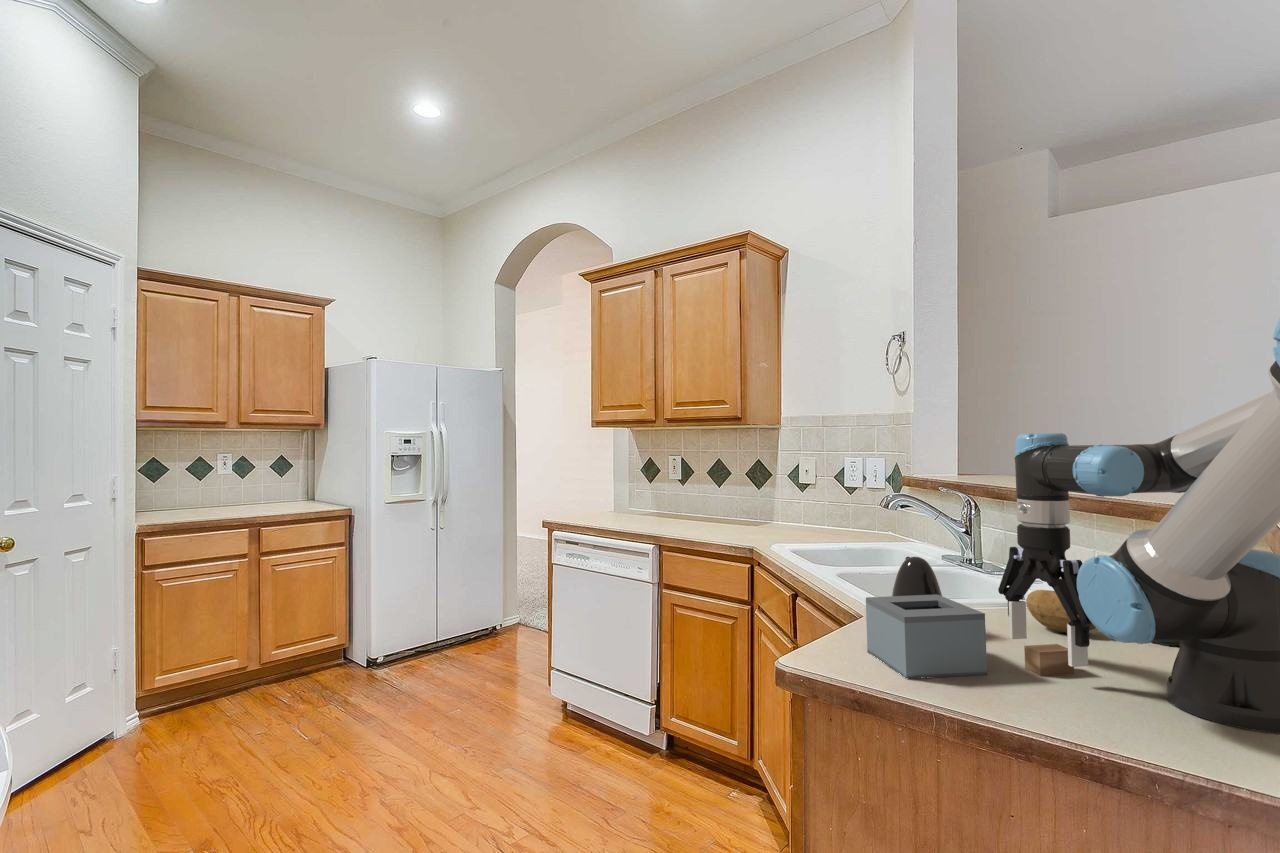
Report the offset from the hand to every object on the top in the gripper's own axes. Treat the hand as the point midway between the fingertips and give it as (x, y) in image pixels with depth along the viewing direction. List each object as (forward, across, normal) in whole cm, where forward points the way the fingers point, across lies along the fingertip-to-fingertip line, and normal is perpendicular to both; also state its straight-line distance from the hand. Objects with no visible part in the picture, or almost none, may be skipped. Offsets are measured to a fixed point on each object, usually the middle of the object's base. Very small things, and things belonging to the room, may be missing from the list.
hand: (1046, 651), depth 106 cm
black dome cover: (+4, -24, -9) cm, 26 cm away
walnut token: (+3, +1, 0) cm, 3 cm away
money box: (+3, -6, -18) cm, 19 cm away
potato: (+4, -19, +20) cm, 28 cm away
